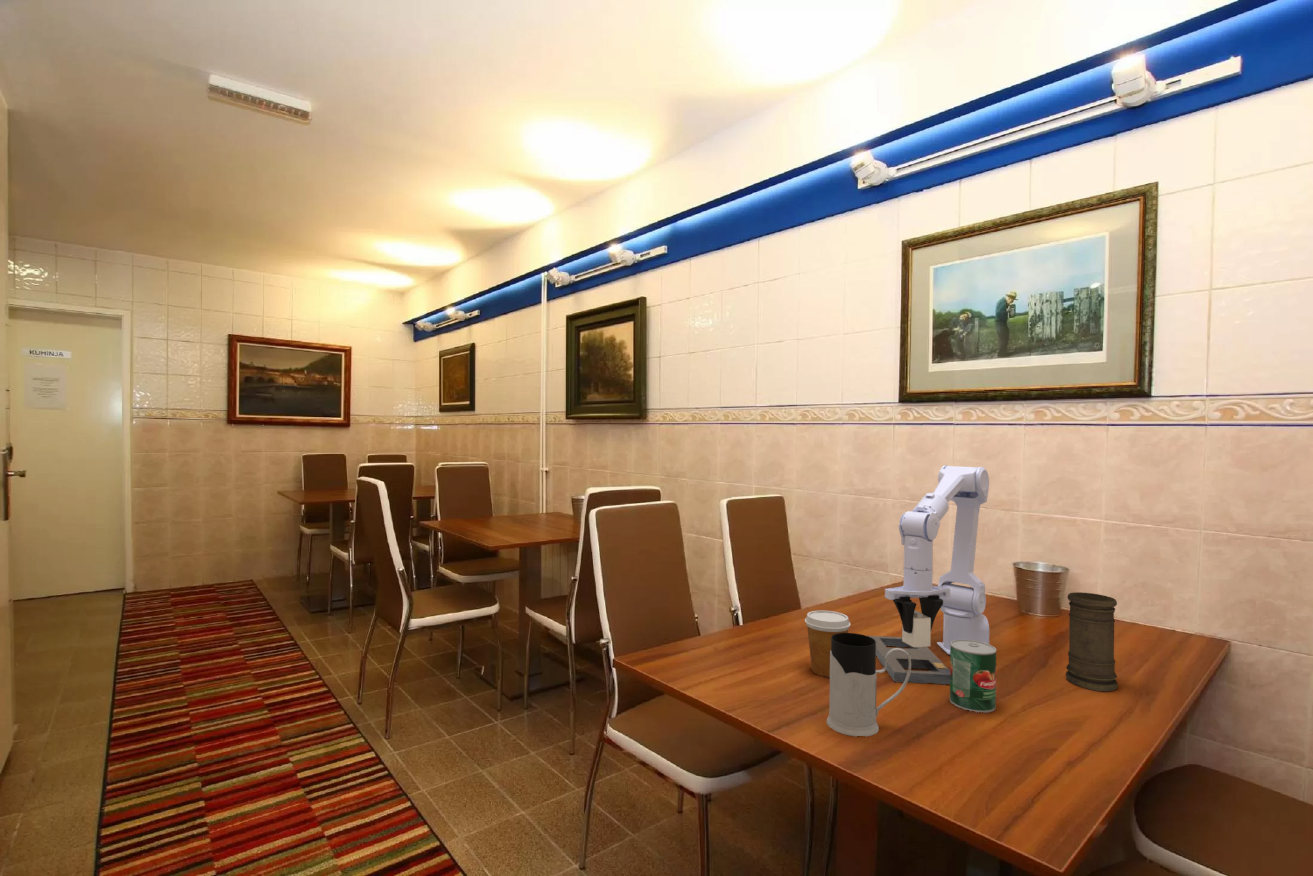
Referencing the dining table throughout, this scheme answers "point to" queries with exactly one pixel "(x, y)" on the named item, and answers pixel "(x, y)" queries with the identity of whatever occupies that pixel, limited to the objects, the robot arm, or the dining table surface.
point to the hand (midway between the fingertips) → (917, 631)
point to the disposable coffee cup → (823, 637)
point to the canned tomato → (973, 675)
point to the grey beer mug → (856, 684)
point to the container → (1091, 641)
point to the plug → (918, 631)
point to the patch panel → (919, 660)
